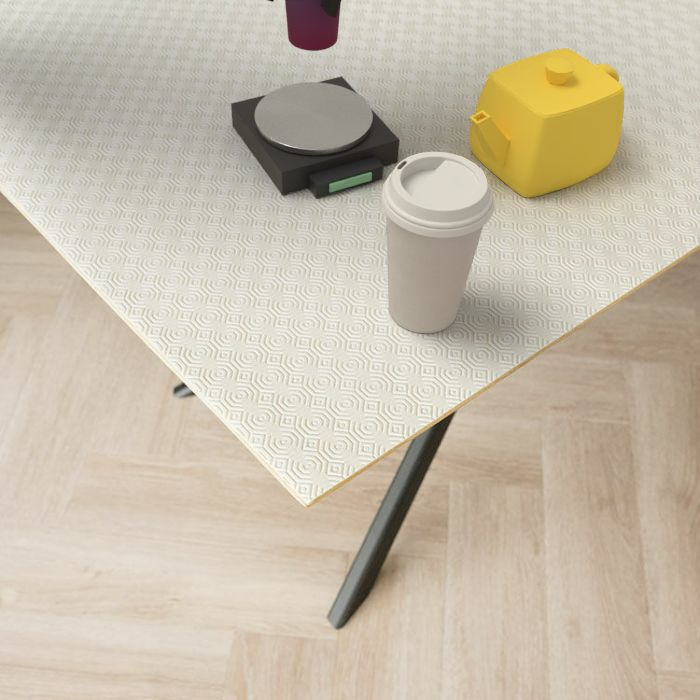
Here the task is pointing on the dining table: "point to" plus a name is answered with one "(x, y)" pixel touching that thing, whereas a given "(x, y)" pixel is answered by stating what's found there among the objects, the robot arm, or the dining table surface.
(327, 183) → the scale
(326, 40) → the cup
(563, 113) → the teapot
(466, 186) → the coffee cup
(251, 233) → the dining table surface
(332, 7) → the robot arm
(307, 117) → the scale pan
